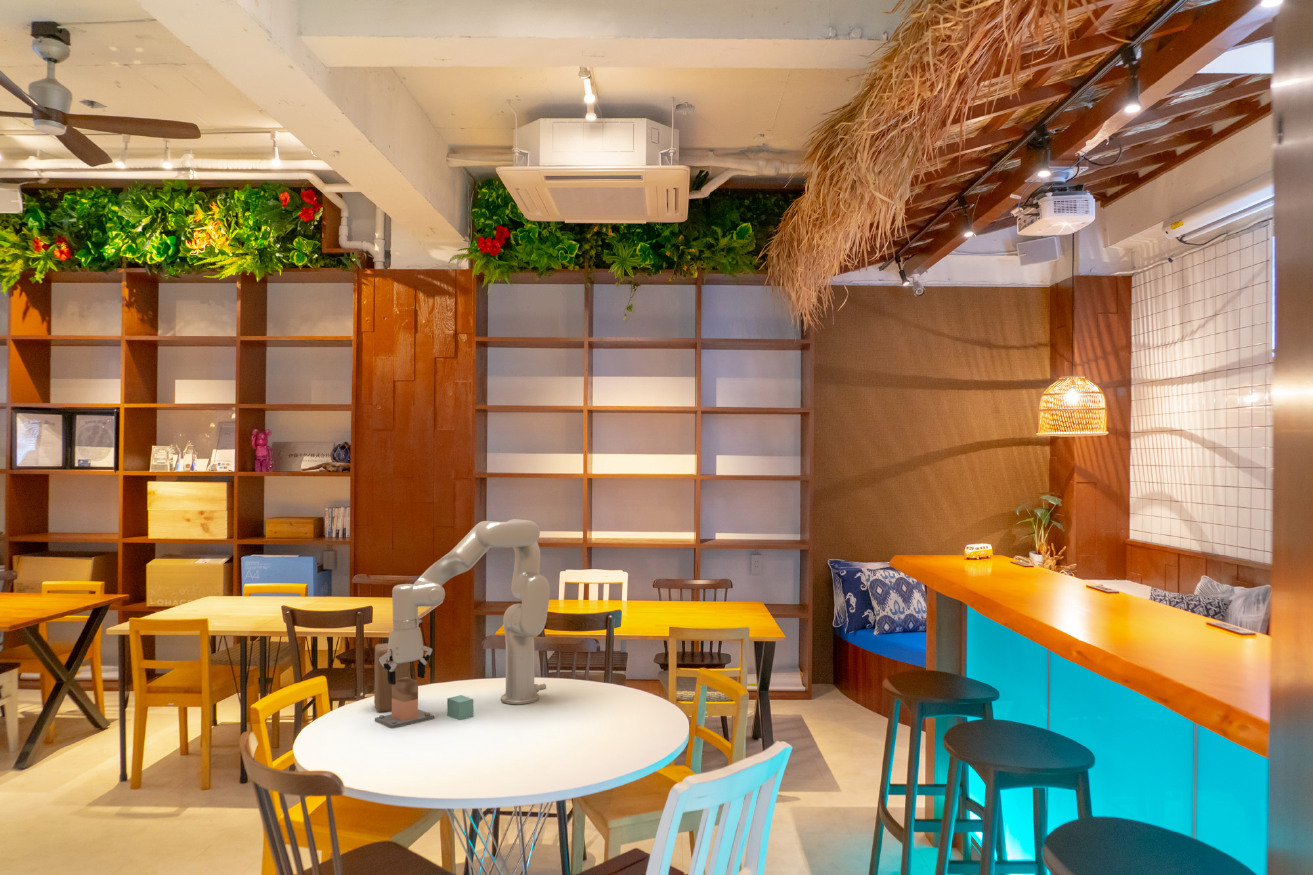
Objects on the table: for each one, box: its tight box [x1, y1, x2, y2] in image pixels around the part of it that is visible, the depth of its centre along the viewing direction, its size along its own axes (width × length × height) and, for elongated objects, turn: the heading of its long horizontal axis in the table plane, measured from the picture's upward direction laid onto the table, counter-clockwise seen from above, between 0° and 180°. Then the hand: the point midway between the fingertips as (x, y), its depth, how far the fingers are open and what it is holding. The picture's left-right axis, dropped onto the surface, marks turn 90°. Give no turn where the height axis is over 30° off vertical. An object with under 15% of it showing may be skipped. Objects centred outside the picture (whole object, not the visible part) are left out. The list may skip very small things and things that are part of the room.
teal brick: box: [446, 694, 474, 721], centre depth 258 cm, size 5×7×6 cm
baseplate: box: [374, 698, 435, 729], centre depth 254 cm, size 14×11×6 cm
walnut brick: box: [392, 677, 419, 702], centre depth 254 cm, size 5×7×6 cm
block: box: [373, 642, 411, 713], centre depth 269 cm, size 10×10×20 cm
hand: (406, 680), depth 255 cm, fingers open, 9 cm apart
